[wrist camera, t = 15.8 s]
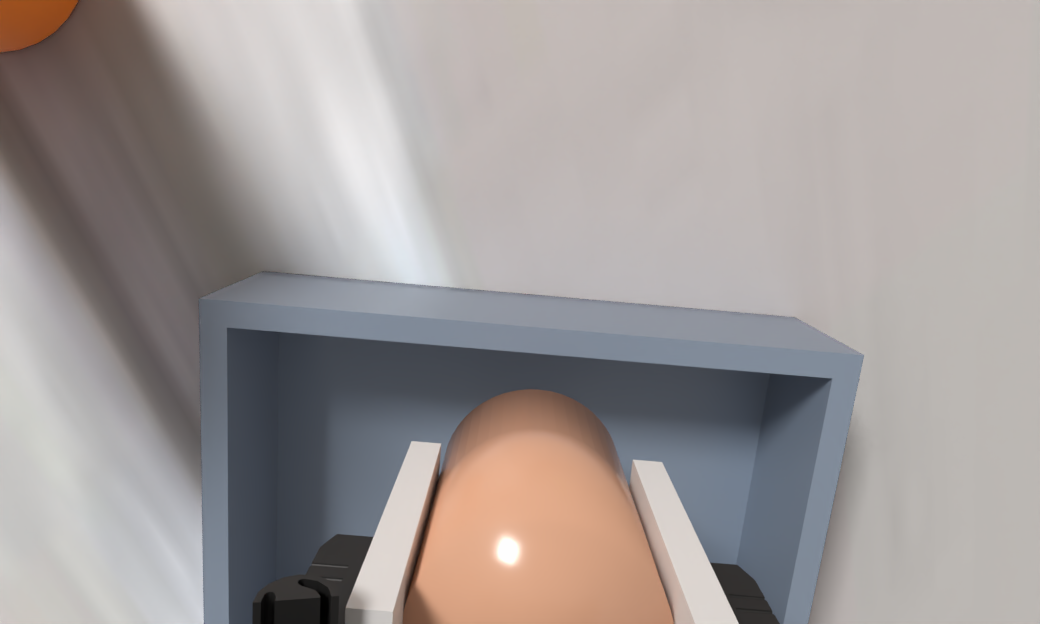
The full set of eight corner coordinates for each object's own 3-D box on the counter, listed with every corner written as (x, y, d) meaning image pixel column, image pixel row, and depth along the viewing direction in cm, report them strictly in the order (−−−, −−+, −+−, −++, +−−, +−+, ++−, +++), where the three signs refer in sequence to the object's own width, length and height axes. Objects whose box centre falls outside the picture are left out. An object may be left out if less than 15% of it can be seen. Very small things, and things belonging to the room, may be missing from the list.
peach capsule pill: (437, 544, 19) (391, 751, 12) (449, 381, 18) (406, 509, 11) (608, 559, 19) (655, 771, 13) (629, 397, 18) (693, 533, 12)
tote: (260, 643, 27) (205, 746, 23) (263, 271, 24) (198, 298, 19) (728, 676, 28) (774, 785, 23) (794, 317, 25) (864, 355, 20)
